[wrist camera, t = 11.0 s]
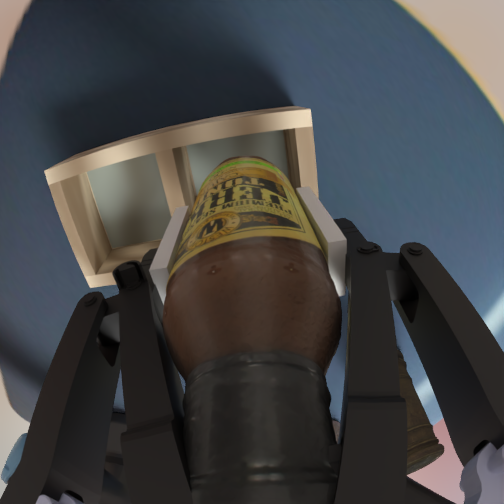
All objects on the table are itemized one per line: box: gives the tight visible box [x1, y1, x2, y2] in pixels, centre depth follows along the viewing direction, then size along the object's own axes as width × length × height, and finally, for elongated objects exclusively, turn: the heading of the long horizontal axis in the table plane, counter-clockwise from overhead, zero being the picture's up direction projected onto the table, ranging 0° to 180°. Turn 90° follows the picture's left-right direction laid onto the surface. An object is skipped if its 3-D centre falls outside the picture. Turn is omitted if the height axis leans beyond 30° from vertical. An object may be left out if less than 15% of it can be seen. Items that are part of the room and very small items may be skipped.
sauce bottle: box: [162, 156, 342, 504], centre depth 12 cm, size 6×6×20 cm
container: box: [397, 349, 444, 475], centre depth 33 cm, size 9×9×18 cm
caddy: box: [44, 106, 319, 288], centre depth 23 cm, size 20×11×6 cm, turn 98°
